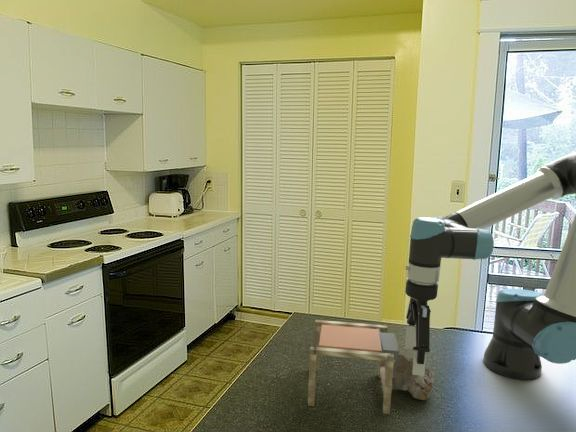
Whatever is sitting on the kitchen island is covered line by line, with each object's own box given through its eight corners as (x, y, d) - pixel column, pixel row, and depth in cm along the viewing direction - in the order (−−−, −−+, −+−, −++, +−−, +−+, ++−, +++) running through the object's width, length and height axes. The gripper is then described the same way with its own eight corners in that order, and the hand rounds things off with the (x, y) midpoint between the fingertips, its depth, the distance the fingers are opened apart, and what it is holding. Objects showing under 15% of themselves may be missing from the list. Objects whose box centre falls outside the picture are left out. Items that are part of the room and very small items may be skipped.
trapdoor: (393, 338, 118) (394, 329, 118) (399, 364, 105) (400, 353, 104) (321, 332, 121) (322, 323, 120) (318, 357, 107) (318, 346, 107)
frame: (383, 375, 122) (387, 325, 120) (389, 414, 105) (394, 356, 102) (313, 368, 125) (315, 319, 122) (307, 405, 107) (310, 349, 105)
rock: (423, 416, 109) (449, 384, 110) (390, 388, 108) (416, 356, 108) (408, 399, 118) (432, 370, 119) (377, 373, 117) (401, 343, 117)
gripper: (400, 265, 121) (393, 338, 125) (414, 296, 97) (405, 385, 101) (428, 267, 121) (421, 341, 124) (449, 299, 96) (439, 389, 100)
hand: (413, 361), depth 112 cm, fingers open, 13 cm apart
